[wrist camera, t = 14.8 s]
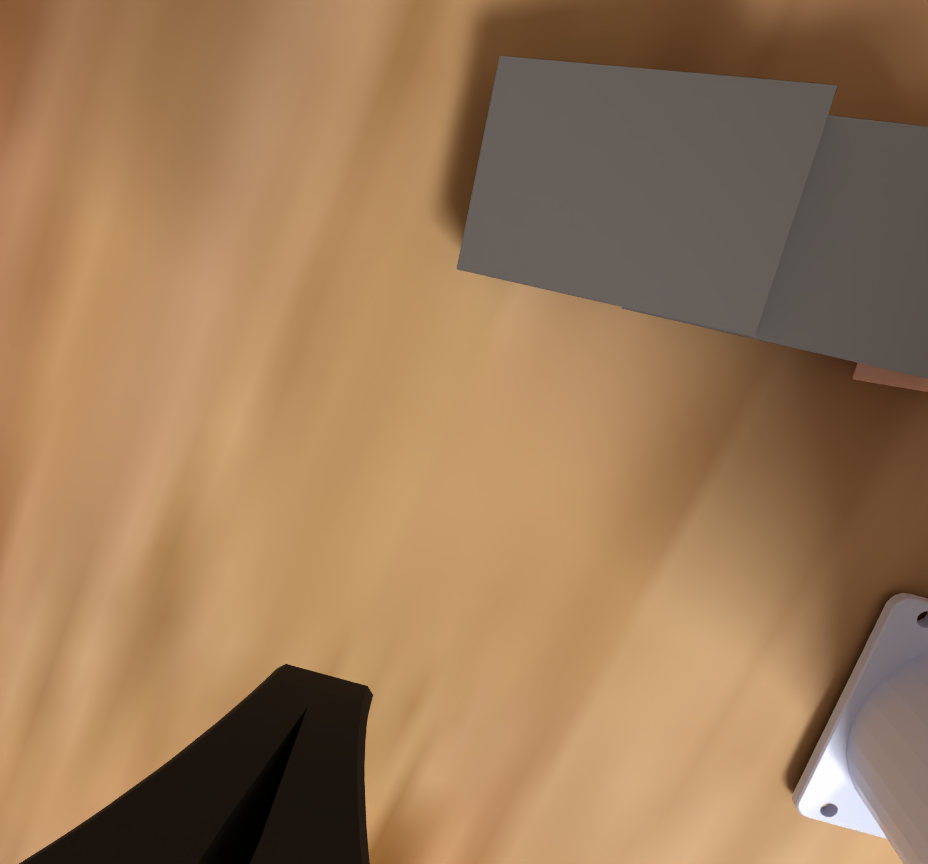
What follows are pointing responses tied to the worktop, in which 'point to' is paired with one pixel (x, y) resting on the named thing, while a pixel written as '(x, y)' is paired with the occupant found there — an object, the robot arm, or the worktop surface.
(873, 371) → the brick tile
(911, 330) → the charcoal tile
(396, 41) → the worktop surface
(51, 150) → the worktop surface
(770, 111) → the charcoal tile
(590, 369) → the worktop surface
